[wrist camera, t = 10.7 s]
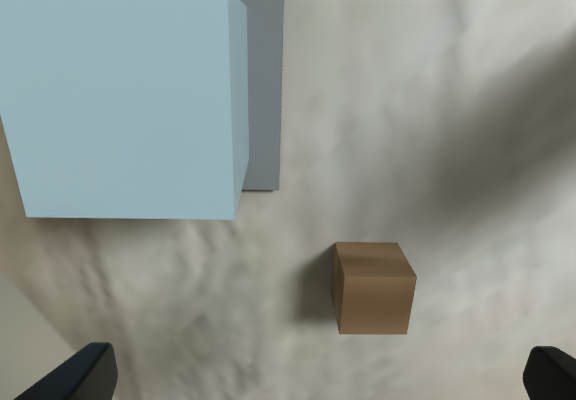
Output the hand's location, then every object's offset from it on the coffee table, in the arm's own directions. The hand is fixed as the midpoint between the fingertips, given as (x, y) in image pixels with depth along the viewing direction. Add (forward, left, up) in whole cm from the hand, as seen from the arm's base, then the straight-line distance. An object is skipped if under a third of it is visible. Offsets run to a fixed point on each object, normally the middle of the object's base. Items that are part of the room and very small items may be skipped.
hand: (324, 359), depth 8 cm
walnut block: (-6, -4, -13) cm, 15 cm away
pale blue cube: (+4, +6, -12) cm, 14 cm away
